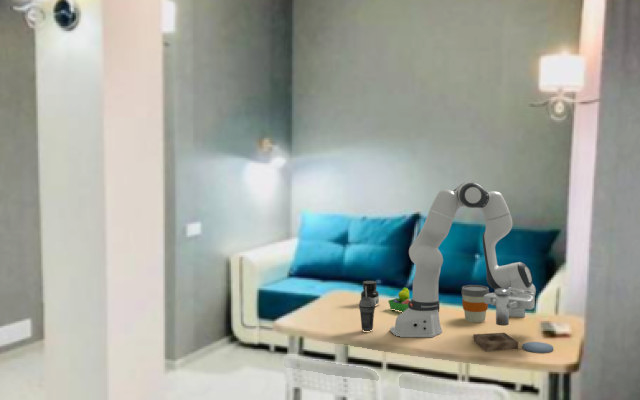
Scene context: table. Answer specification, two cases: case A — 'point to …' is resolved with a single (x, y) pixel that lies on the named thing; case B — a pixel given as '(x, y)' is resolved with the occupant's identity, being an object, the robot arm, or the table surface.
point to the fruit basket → (400, 301)
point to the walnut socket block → (495, 341)
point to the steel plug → (502, 306)
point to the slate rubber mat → (537, 347)
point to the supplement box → (516, 312)
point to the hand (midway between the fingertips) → (501, 305)
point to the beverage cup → (367, 312)
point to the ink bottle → (370, 291)
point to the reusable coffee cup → (474, 302)
